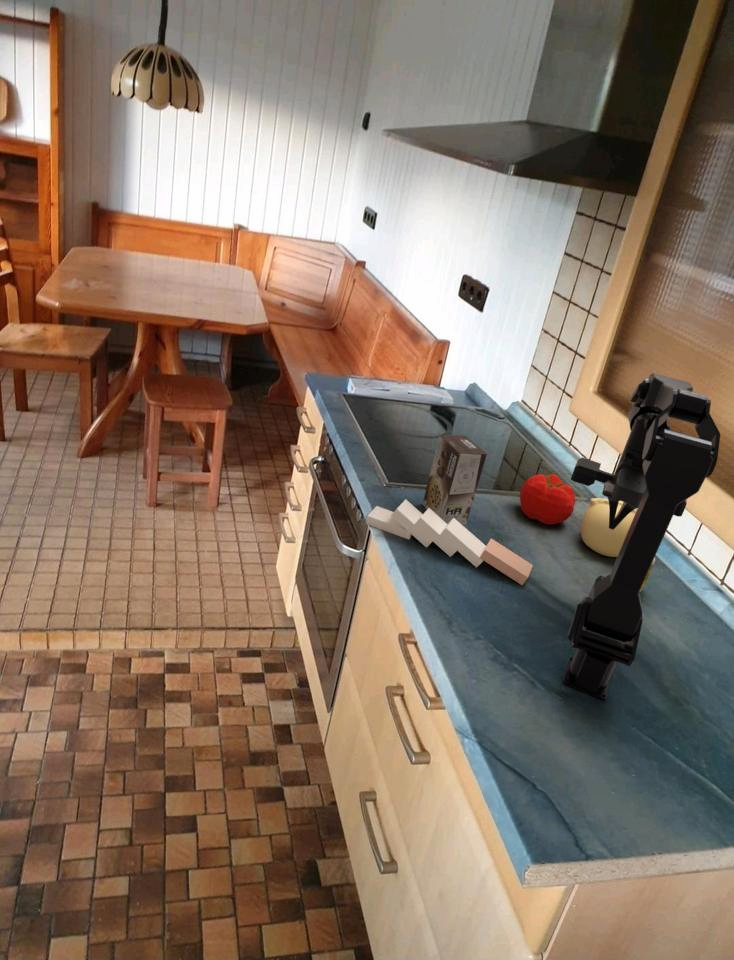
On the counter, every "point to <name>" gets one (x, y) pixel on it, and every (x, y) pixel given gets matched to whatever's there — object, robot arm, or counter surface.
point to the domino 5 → (506, 561)
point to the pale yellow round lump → (604, 528)
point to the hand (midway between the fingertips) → (611, 528)
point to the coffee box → (454, 478)
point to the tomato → (547, 499)
